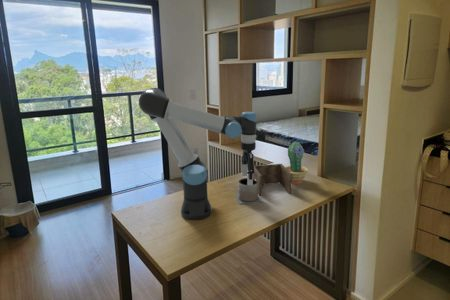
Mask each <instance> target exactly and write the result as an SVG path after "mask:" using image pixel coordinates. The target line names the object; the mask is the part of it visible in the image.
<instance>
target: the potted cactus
mask: <svg viewBox="0 0 450 300" xmlns="http://www.w3.org/2000/svg"><path fill="white" fill-rule="evenodd" d="M304 152H305V149H304V148H303V146H302V145H301V143H300V142H298V141H297V142H295V141H294V142H292V143H291V144H290V145H289V146H288V148H287V156H288V159H289V165H286V166H285V165H284V167H285V168H287V169H288V170H289V171H290V172H291V173H292V184H293V185H300V184H302V183H303V180H304V179H305V177H306V175H307V174H308V172H309V169H308V168H307V167H305V166H304V165H303V166H302V159H303V157H304Z"/></svg>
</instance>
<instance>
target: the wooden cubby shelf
mask: <svg viewBox="0 0 450 300" xmlns="http://www.w3.org/2000/svg"><path fill="white" fill-rule="evenodd" d="M253 179H256V180H257V181H258V197H262V192H263V191H262V188H263V187H262V185H269V184H270V185H271V184H280V185H281V186H282V187H283V188H284V190H285V191H286V192H287V193H288V194H289V195H291V194H292V173H291V172H290V171H289V170H288V169H287V168H285V165H283V164H282V163H275V164H274V163H273V164H256V165H255V164H254V173H253Z"/></svg>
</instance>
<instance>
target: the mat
mask: <svg viewBox="0 0 450 300" xmlns="http://www.w3.org/2000/svg"><path fill="white" fill-rule="evenodd" d="M235 198H236V200H237V203H238V204H239V205H246V204H258V203H260V202H261V203H262V200H261V198H260V196H258V198H257V199H256V200H254V201H250V202H247V201H242V200H240V199H239V198H238V194H237V193H236V194H235Z"/></svg>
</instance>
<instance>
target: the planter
mask: <svg viewBox="0 0 450 300" xmlns="http://www.w3.org/2000/svg"><path fill="white" fill-rule="evenodd" d="M247 178H248V177H244V178H241V179H239V180H238V182H237V183H238V187H237V193H238V198H239V199H240V200H242V201H247V202H250V201H254V200H256V199H257V198H258V197H259V195H258V181H257V180H256V179H253V185H247Z"/></svg>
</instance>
